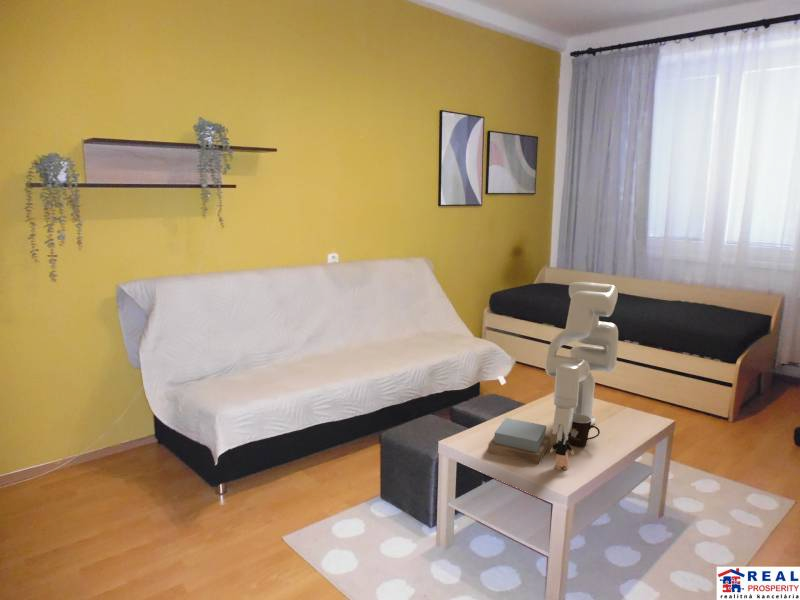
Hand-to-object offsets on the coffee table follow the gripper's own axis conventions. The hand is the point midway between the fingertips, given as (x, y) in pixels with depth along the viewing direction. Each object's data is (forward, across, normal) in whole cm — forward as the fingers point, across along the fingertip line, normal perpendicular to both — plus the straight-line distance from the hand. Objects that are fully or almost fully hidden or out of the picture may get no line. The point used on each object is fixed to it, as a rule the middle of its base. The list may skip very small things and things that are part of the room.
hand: (561, 451), depth 186 cm
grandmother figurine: (+6, 0, 0) cm, 6 cm away
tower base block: (+6, -8, -16) cm, 19 cm away
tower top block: (+2, -8, -16) cm, 18 cm away
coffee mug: (+6, -21, +3) cm, 22 cm away
